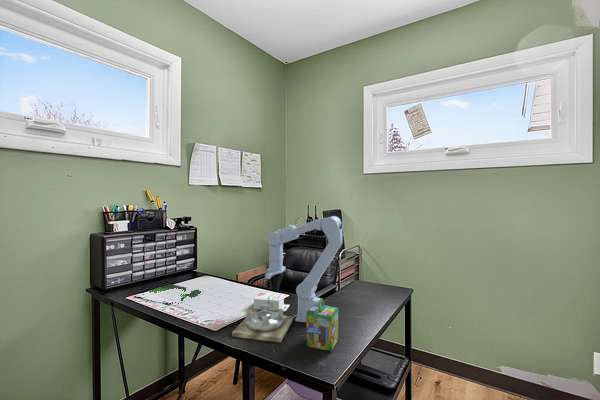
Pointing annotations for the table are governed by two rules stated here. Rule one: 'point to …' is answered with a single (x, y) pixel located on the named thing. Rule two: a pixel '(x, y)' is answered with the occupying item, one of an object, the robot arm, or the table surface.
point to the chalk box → (322, 326)
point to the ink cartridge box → (270, 301)
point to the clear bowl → (264, 319)
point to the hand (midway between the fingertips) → (275, 291)
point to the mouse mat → (171, 286)
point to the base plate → (267, 336)
